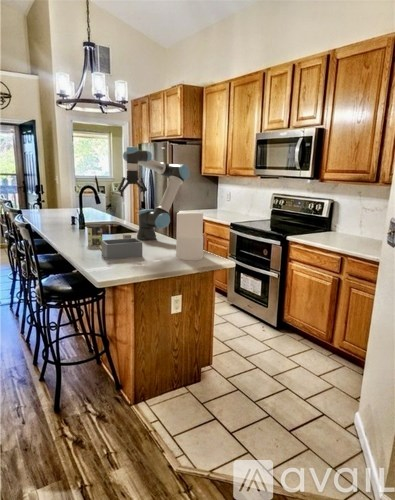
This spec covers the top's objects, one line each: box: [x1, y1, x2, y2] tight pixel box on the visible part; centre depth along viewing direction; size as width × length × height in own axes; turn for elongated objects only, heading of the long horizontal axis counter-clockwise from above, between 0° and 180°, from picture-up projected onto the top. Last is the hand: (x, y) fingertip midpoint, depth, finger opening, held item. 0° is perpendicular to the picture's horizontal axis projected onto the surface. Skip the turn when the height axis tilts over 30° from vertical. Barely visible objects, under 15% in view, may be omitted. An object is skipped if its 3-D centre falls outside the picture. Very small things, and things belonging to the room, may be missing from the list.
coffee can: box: [86, 224, 104, 247], centre depth 251 cm, size 10×10×14 cm
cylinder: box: [175, 211, 205, 261], centre depth 225 cm, size 17×17×28 cm
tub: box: [101, 237, 143, 261], centre depth 221 cm, size 22×14×10 cm, turn 118°
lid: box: [98, 233, 132, 251], centre depth 239 cm, size 23×15×11 cm, turn 117°
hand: (132, 201), depth 246 cm, fingers open, 13 cm apart
